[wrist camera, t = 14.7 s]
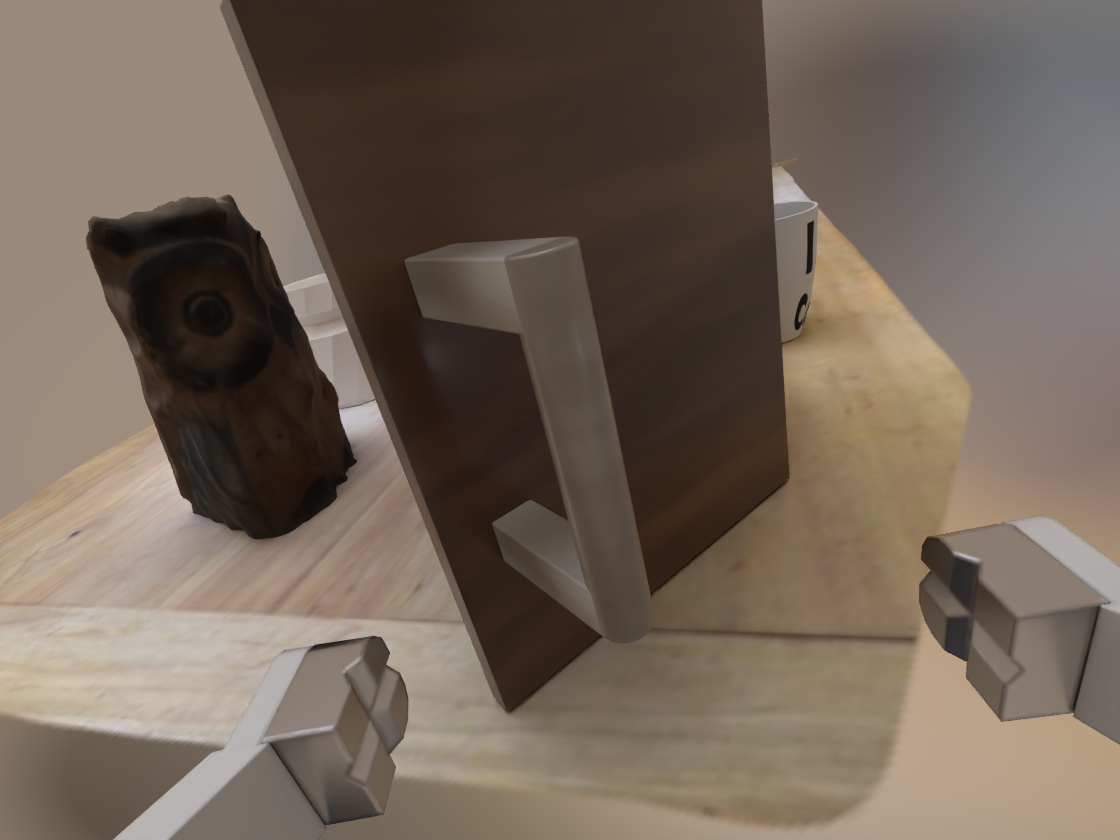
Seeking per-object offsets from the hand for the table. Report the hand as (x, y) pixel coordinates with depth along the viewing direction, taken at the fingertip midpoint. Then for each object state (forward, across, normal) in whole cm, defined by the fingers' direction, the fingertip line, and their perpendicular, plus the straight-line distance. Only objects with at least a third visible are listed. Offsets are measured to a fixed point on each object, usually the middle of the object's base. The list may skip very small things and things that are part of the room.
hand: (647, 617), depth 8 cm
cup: (+40, -15, +11) cm, 44 cm away
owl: (+30, +25, +11) cm, 40 cm away
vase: (+49, +24, +11) cm, 56 cm away
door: (+11, -3, +11) cm, 16 cm away
